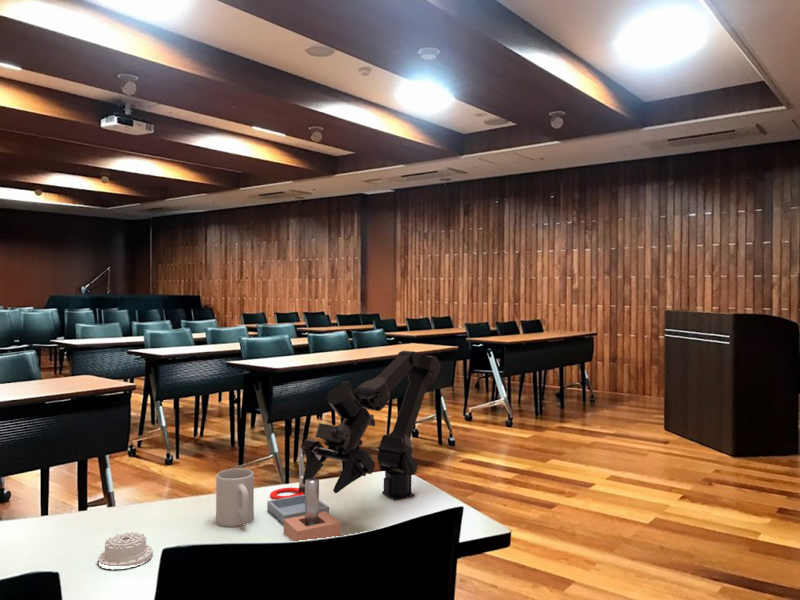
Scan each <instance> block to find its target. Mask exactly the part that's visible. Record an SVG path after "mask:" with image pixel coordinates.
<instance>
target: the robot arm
mask: <svg viewBox="0 0 800 600" xmlns="http://www.w3.org/2000/svg"><path fill="white" fill-rule="evenodd" d="M441 368H442V365H441V362H440V360H439V359H438V357H436V356H434V355H424V354H420V353H418V352H416V351H414V350H413V351H412V350H401V351H399V352H398V353H397V357H395V358H394V359H393V360H392V361H391V362H390V363H389V364H388V366H386V367H385V368H384V369H383V370H382V371H381V372H380V373H378V375H377V376H376V377H375V378H372V379H369V380H366V381H365V382H363V383H362V384H360V385H358V386H357V387H356V389H354V387H353V385H352V383H351V382H349V381H342V383H341V384H340V385H338V386H335V387H334V388H332V389H331V390H329V392H328V393H327V395H326V397H327V398H326V401H327V402H328V404H329V405H330V406H331V408H332V409H333V410H334V412H335V413H336V415H337V416H338V417H339V418H341V419H343V421H342V423H339V424H338V425H337V424H336V425H333V424H332V425H331V424H327V423H326V424H325V423H321V422H320V423H319V424H318V427H317V430H316V433H315V438H317V439H322V440H323V443H324V444H325V446H327V447H324V445H323V443H321V442H320V440H315V439H311V438H307V439H304V440H303V442H302V444H301V445H300V446H299V447H300V448H301V449H302V452H303V455H305V460H306V461H305V462H306V463H305V467H304V478H303V484H304V485H305V480H306V479H310V478H314V477H315V476H316V475H317V473H319V471H320V470H321V469H322V467H323V466H324V464H323V462H325V461H327V458H329V459H334V460H338V461H341V462H342V461H343V462H344V464H343V465H344V467H343V469H342V471H341V473H340V475H339V477H338V479H337V481H336V483H335V484H334V487H333V488H332V489H333V490H332V491H333V492H334V494H338V493H339V492H340V491H342V490H343V489H345V488H346V487H347V486H349V485H350V484H352V483H353V482H355V481H356V480H358V479H359V478H361V477H366V476H367V475H372V473H373V472H374V469H375V468H376V463H375V460H374V459H373V457H372V456H371V455H370V453H368V451H367V450H365V449H359V448H357V446H360V447H361V446H363V443H364V442H363V441H362V440H361V439H362V437H363V436H364V434H365V432H366V430H367V429H368V427H375V426H376V420H375V417H374V414H371V413H370V412H369V411H375V412H380V411H381V410H383V409H384V407H385V406H386V405H387V403H388V401H389V400H390V398H391V397H390V393H391V391H392V390H393V389H394V388H395V387H396V386H397V385H398V384H399V382H401V381H402V380H403V379H404V378H405V377H406V375H407V377H408V381H409V383H408V386H407V388H406V392H405V394H404V397H403V401H402V403H401V407H400V410H399V412H398V415H397V418H396V420H395V423H394V427H393V430H392V431H391V433H389V434H383V435H382V437H381V440H380V443H379V446H378V447H377V450H378V451H377V455H376V457H377V462H378V465H379V471H381V472H384V477H383V491H381V494H382V495H385V496H386V497H387V498H389V499H391V500H394V501H396V500H401V499H406V498H412V497H415V496H416V494H415V493H414V492H412V476H414V475H415V473H417V472H418V466H419V465H418V464H419V463H418V462H417V461H416V460H415V458H414V457H413V456H412V455H413V450H414V449H413V445H412V441H411V437H412V435H413V432H414V429H415V424H416V422H417V420H418V416H419V413H420V410H421V406H422V405H423V401H424V398H425V395H426V392H427V389H428V388H429V387H430V386H432V385H433V384H434V383H435V382H436V380H437V378H438V375H439V373H440V371H441Z"/></svg>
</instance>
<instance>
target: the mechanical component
mask: <svg viewBox="0 0 800 600" xmlns="http://www.w3.org/2000/svg"><path fill="white" fill-rule="evenodd" d="M153 557H154V550H153V547H152V546H150V545H148V544H147V536H146V535H145V534H144V533H138V532H137V531H136V532H133V531H130V532H128V531H127V532H125V533H121V534H115V535H114V536H113V537H108V539H106V540H105V542H104V551H102V552H101V553H100V554H99V555H98V558H97V559H98V560H97V562H98V561H99V562H100V563H101V564H104V565H108V566H129V565H130V566H131V565H137V564H141V563H143V562H146V561H148V560H149V559H150V560H152V558H153ZM150 560H149V561H150ZM149 561H148V562H149ZM146 563H147V562H146Z"/></svg>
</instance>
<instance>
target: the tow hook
mask: <svg viewBox="0 0 800 600" xmlns="http://www.w3.org/2000/svg"><path fill="white" fill-rule="evenodd" d="M298 447H299V449H298V450H299V455H298V466H299V467H298V468H299V469H298V470H299V476H298V482H299V485H298V487H282V488H278V489H275V490H273V491H271V492H270V493H269V497H271V498H272V500H274V499H275V500H277V499H282V498H288V497H294V496H299V495H305V485H304V484H303V478H304V473H305V463H304V461H305V459H304V453H303V450H302V449H301V448H300V447H301V446H298ZM282 493H293V494H290V495H279V494H282ZM271 498H270V499H271Z"/></svg>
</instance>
